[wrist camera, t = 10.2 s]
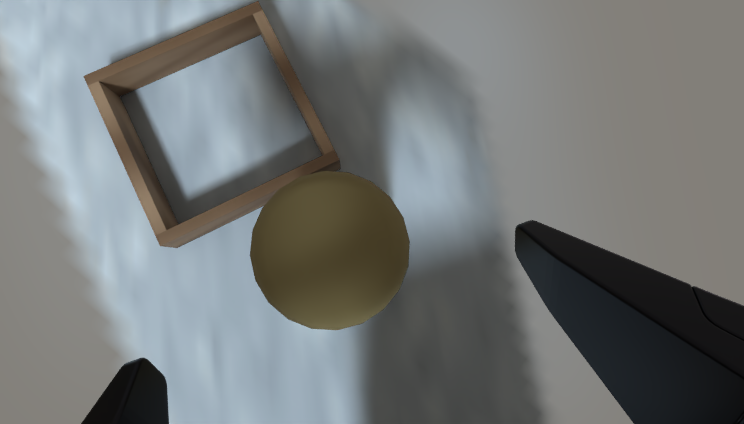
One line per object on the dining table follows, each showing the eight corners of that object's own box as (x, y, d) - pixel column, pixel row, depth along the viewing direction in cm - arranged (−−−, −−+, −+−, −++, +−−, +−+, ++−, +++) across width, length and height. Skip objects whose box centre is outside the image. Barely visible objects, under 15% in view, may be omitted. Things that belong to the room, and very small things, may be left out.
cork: (346, 181, 23) (338, 105, 12) (416, 261, 23) (472, 255, 12) (263, 251, 23) (178, 236, 12) (334, 335, 22) (315, 401, 11)
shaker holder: (340, 168, 24) (339, 159, 22) (177, 247, 23) (160, 246, 21) (265, 22, 25) (258, 0, 23) (106, 92, 24) (83, 76, 22)
